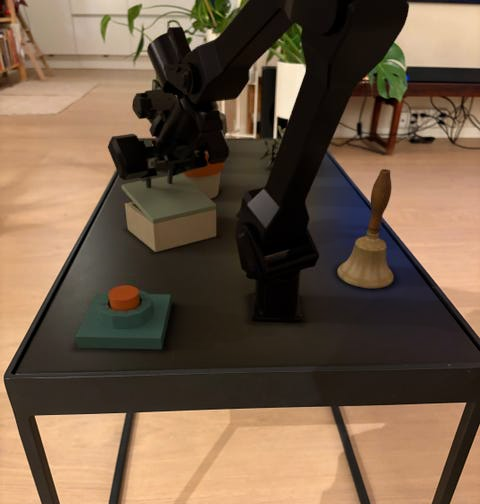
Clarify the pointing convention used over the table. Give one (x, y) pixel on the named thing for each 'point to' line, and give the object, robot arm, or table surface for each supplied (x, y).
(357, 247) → the hand bell
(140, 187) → the lid
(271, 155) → the passion flower
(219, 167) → the reusable coffee cup
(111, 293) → the button
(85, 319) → the control box
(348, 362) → the table surface
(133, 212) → the shallow tan tray
